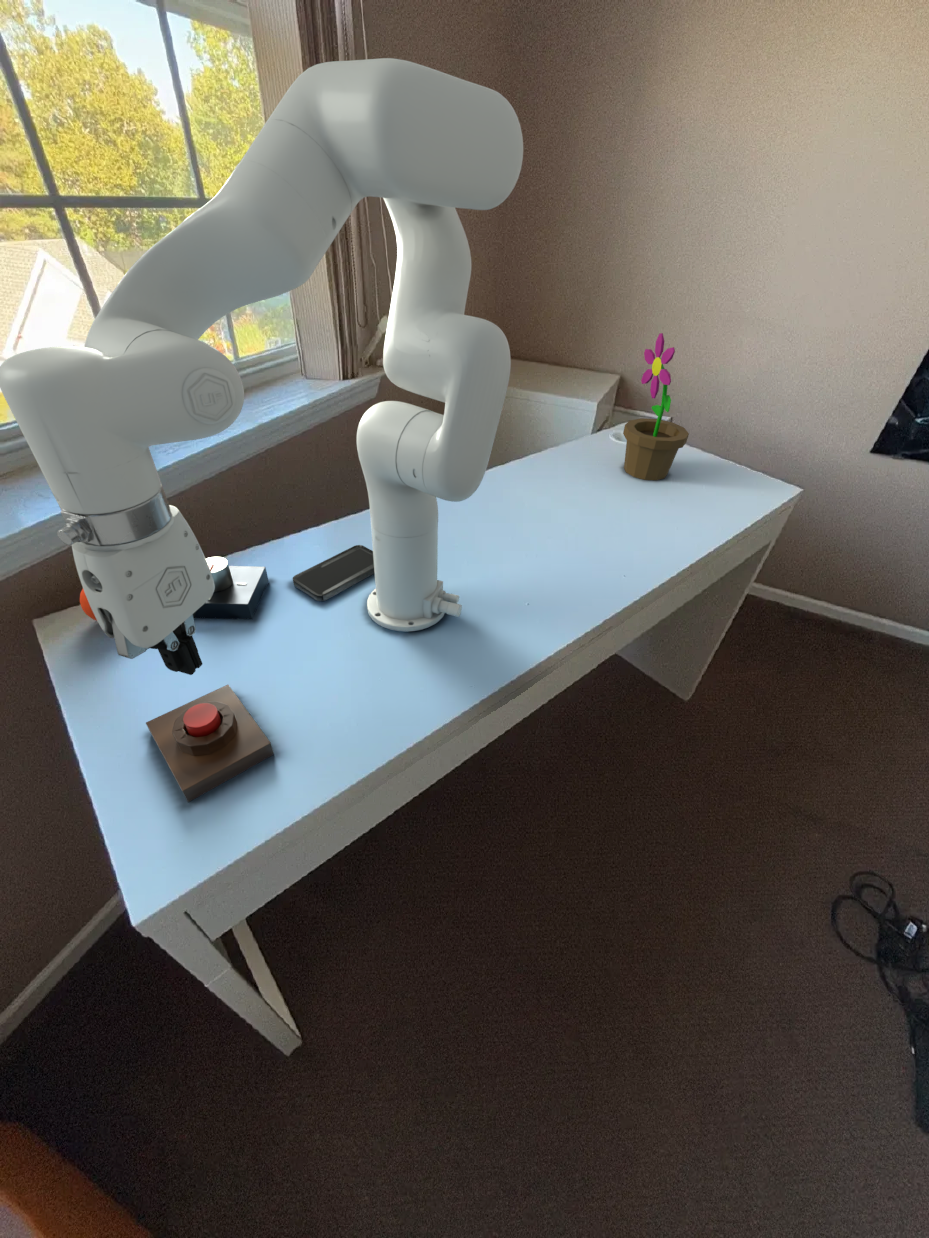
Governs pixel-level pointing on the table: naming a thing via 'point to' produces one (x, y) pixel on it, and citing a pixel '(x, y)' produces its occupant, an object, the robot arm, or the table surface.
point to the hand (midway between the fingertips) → (185, 666)
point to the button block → (210, 744)
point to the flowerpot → (654, 425)
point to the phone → (336, 573)
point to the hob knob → (220, 573)
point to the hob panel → (237, 595)
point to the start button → (202, 720)
